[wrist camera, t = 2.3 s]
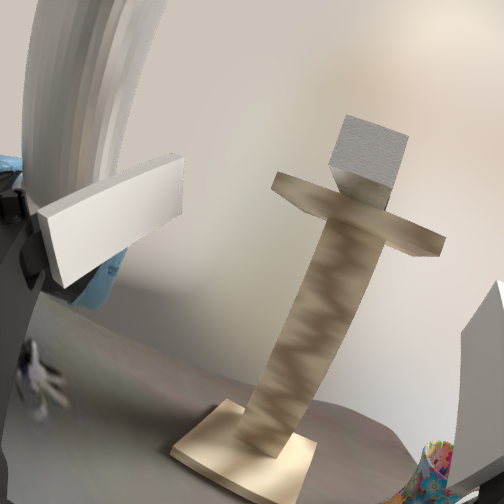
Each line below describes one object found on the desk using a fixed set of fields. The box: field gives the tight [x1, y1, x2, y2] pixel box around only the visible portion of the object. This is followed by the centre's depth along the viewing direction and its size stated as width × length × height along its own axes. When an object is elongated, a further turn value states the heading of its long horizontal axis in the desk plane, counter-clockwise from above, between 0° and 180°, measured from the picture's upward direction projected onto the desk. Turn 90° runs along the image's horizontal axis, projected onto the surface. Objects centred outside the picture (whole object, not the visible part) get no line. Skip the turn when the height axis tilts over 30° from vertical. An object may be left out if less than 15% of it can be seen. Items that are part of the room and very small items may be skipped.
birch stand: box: [169, 172, 446, 504], centre depth 31 cm, size 14×14×30 cm
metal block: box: [328, 115, 409, 211], centre depth 25 cm, size 22×4×4 cm, turn 160°
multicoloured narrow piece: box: [381, 441, 480, 504], centre depth 23 cm, size 12×9×11 cm
